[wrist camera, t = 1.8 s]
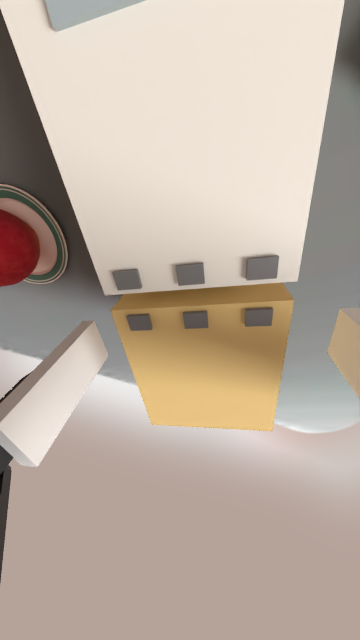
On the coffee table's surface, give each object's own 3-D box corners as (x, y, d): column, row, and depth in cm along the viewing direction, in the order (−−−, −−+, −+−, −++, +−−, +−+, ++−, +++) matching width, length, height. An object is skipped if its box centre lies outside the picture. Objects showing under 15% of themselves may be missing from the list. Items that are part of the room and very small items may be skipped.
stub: (167, 242, 16) (108, 312, 7) (246, 232, 15) (295, 302, 6) (179, 317, 20) (151, 427, 11) (244, 314, 19) (272, 434, 10)
